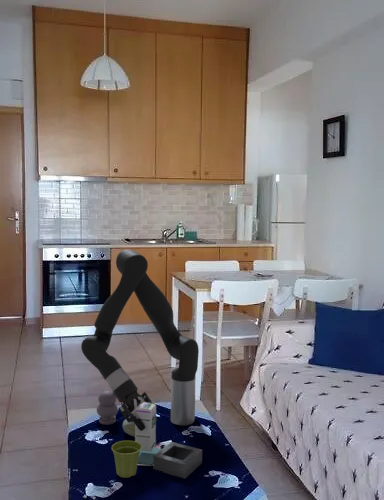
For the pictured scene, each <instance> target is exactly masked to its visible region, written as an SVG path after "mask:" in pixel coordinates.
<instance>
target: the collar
mask: <svg viewBox="0 0 384 500" xmlns="http://www.w3.org/2000/svg"><path fill="white" fill-rule="evenodd" d="M161 449H162V450H160V451H159V452H158V453H157V454H155V455H154V456H153V465H152V468H153V469H152V470H154V469H155V470H154V471H157V470H159V471H158V472H160V471H162V472H161V473H164V474H168V475H170V476H175V477H177V478H182V479H185V480H186V478H187V477H189V476H190V475H191V474H192V473H193V472H195V470H196V469H197V468H198V467H200V466H201V465H202V464H203V449H200V448H197V447H193V446H190V445H185V444H182V443H179V442H178V443H177V442H173V441H171V442H169V443H168V444H166V445H165V446H164V447H163V448H161Z"/></svg>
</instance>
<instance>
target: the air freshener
mask: <svg viewBox="0 0 384 500" xmlns="http://www.w3.org/2000/svg"><path fill="white" fill-rule="evenodd" d="M134 416H135V415H134ZM128 417H129V418H130V416H128ZM122 429H123V431H124V433H126V434H128V436H132V437H134V438H135V423H134V422H130V423H129V422H127V420H126V419H125V418H124V420H123V422H122Z"/></svg>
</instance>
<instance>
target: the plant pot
mask: <svg viewBox="0 0 384 500" xmlns="http://www.w3.org/2000/svg"><path fill="white" fill-rule="evenodd" d="M141 449H142V445H141V444H140V443H138V442H135V440H120V441H116V442H114V444H112V445H111V451H112V453H113V455H114V456H113V457H114V463H115V464H114V465H115V470H116V471H115V472H116V475H117V476H119V477H120V478H126V479H128V478H131V477H132V476H133V477H134V476H136V474H137V471H138V458H139V454H140V450H141Z"/></svg>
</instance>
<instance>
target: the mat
mask: <svg viewBox="0 0 384 500" xmlns="http://www.w3.org/2000/svg"><path fill="white" fill-rule="evenodd" d="M162 449H163V448H159V447H157V446H156V447H155V446H154V448H153V449H152V451H151V452H149V451H140V454H139V458H138V463H139V464H142V465H146V466H148V467H153V456H154V455H155V454H157V453H158V452H159V451H160V450H162Z"/></svg>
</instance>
